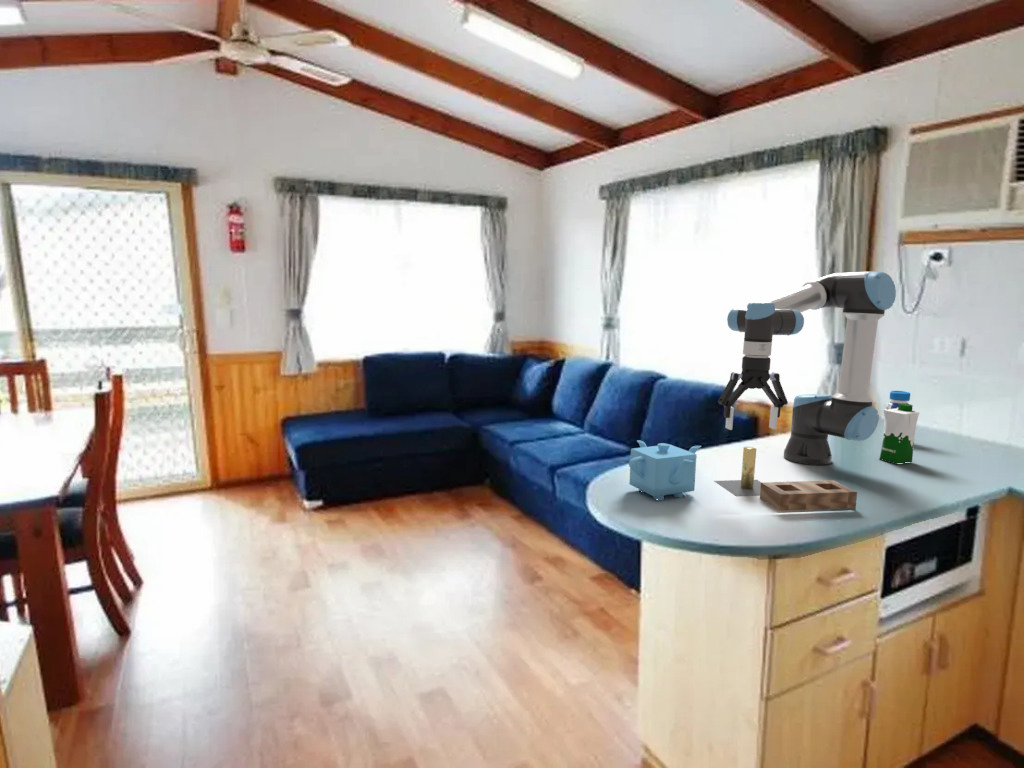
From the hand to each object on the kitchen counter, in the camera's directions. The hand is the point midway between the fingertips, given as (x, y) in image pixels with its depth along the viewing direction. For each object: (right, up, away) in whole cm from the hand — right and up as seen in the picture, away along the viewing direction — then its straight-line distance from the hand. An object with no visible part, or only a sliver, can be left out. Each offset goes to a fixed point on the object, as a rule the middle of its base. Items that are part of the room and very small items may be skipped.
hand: (750, 428), depth 177 cm
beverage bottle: (+82, -10, +63) cm, 104 cm away
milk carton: (+64, -14, +35) cm, 75 cm away
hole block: (+12, -20, -9) cm, 25 cm away
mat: (0, -18, +3) cm, 18 cm away
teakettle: (-26, -19, -1) cm, 32 cm away
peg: (0, -18, +3) cm, 18 cm away
